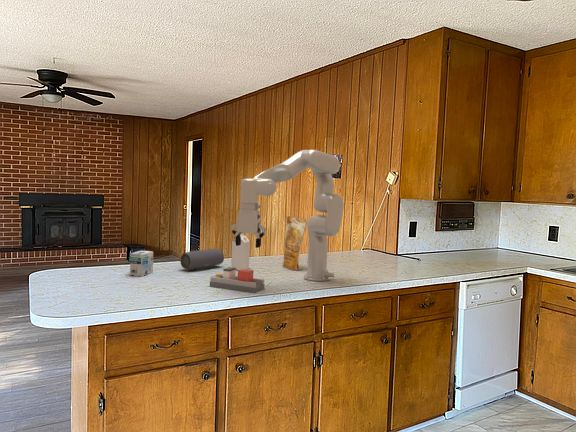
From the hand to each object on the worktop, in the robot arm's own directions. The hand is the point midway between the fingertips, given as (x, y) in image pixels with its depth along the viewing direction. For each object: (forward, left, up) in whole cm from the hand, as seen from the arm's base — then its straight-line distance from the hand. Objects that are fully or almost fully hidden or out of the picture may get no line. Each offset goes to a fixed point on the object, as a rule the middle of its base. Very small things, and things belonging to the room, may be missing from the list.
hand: (248, 246), depth 199 cm
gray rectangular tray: (+4, +1, -19) cm, 19 cm away
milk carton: (+23, -36, -19) cm, 47 cm away
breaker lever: (+8, +1, -16) cm, 18 cm away
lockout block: (0, +1, -16) cm, 16 cm away
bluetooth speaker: (+40, -26, -19) cm, 52 cm away
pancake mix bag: (+1, -55, -19) cm, 58 cm away
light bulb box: (+56, +2, -19) cm, 59 cm away
